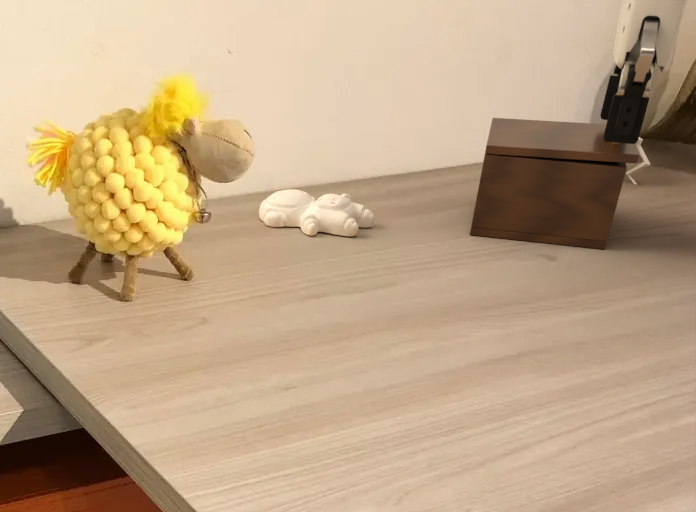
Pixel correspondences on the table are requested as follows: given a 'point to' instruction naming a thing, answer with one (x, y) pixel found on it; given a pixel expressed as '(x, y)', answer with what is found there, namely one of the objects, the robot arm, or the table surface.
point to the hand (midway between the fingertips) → (617, 130)
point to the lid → (556, 141)
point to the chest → (547, 199)
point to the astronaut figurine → (315, 213)
